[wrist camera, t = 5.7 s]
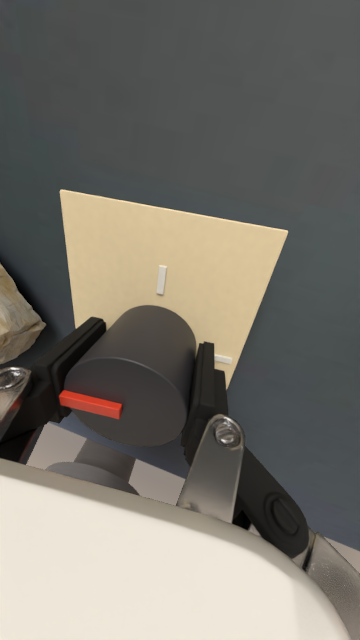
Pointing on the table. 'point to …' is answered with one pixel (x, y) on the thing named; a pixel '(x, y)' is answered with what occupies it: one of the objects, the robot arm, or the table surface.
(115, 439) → the timer dial
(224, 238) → the panel
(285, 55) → the table surface
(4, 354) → the stone
